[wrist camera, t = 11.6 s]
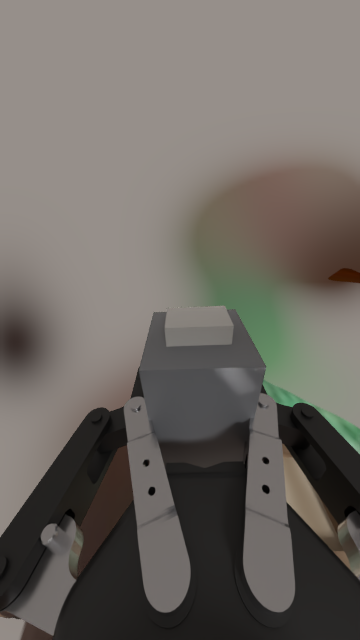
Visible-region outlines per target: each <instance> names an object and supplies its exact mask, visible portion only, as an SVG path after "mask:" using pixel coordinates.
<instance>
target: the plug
mask: <svg viewBox="0 0 360 640" xmlns="http://www.w3.org/2000/svg"><path fill="white" fill-rule="evenodd" d="M265 370H266V365H265V364H264V362H263V360H262V358H261V356H260V354H259V352H258V351H257V349H256V347H255V345H254V343H253V341H252V339H251V338H250V336H249V334H248V332H247V330H246V328H245V327H244V325H243V323H242V321H241V319H240V317H239V315H238V314H237V312H236V310H235V309H234V310H233V309H232V310H226V308H225V306H209V307H208V306H206V307H180V308H167V312H154V313H153V317H152V321H151V325H150V329H149V333H148V337H147V341H146V344H145V349H144V352H143V356H142V360H141V364H140V368H139V374H140V379H141V384H142V390H143V395H144V400H145V405H146V410H147V415H148V420H152V423H153V426H154V430H155V433H156V436H157V440H158V444H159V447H160V451H161V455H162V459H163V463H164V467H165V469H166V463H183V462H185V463H189V464H192V465H196V466H199V467H203V468H207V467H210V466H213V465H216V464H219V463H222V462H232V461H243V452H244V444H245V441H247V438H248V427H249V420H250V418H255V413H256V409H257V405H258V400H259V396H260V392H261V387H262V383H263V379H264V374H265Z"/></svg>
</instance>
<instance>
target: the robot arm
mask: <svg viewBox="0 0 360 640" xmlns="http://www.w3.org/2000/svg"><path fill="white" fill-rule="evenodd" d="M139 368H140V367H139ZM282 444H284V445H285V446H286V448H287V449H288V451H289V452H290V454H291V455H292V457H293V458H294V460H295V461H296V463H297V464H298V466H299V467H300V469H301V470H302V472H303V473H304V475H305V476H306V478H307V479H308V480H309V482H310V483H311V485H312V486H313V488H314V489H315V491H316V492H317V494H318V495H319V497H320V498H321V500H322V501H323V503H324V504H325V506H326V507H327V509H328V510H329V512H330V513H331V515H332V516H333V517H334V519H335V520H336V522H337V523H338V525H339V526H338V538H339V541H340V544H341V546H342V548H343V550H344V552H345V553H346V555H347V558H348V560H349V564H350V569H351V570H350V569H349V568H348V567H347V566H346V565H345V564H344V563H343V562H342V560H341V559H340V558H339V557H338V556H337V555H336V554H335V553H334V552H333V551H332V550H331V549H330V548H329V547H328V545H327V544H326V543H325V542H324V541H323V540H322V539H321V538H320V537H319V536H318V535H317V534H316V533H315V532H314V530H313V529H312V528H311V527H310V526H309V525H308V524H307V523H306V522H305V521H304V520H303V519H302V518H301V517H300V516H299V514H298V513H297V512H296V511H295V510H294V509H293V508H292V507H291V506H290V505H289V504H288V503H287V502H286V490H285V476H284V463H283V449H282ZM125 445H127V448H128V456H129V464H130V472H131V480H132V488H133V496H134V500H133V501H132V503H131V504H130V505H129V507H128V508H127V510H126V511H125V512H124V514H123V515H122V517H121V518H120V519H119V521H118V522H117V524H116V525H115V526H114V528H113V529H112V531H111V532H110V533H109V535H108V536H107V538H106V539H105V540H104V542H103V543H102V545H101V546H100V547H99V549H98V550H97V552H96V553H95V554H94V556H93V557H92V559H91V560H90V561H89V563H88V564H87V566H86V567H85V568H84V570H83V571H82V573H81V574H80V575H79V577H78V573H77V564H78V559H79V555H80V552H81V549H82V546H83V532H82V529H81V528H80V525H81V523H82V521H83V519H84V517H85V515H86V513H87V511H88V509H89V507H90V505H91V503H92V501H93V498H94V496H95V494H96V492H97V490H98V488H99V486H100V484H101V482H102V480H103V478H104V476H105V474H106V472H107V470H108V467H109V465H110V463H111V461H112V459H113V457H114V455H115V453H116V451H117V449H118V448H119V447H122V446H125ZM0 617H4V618H16V619H23V620H24V621H26V622H28V623H30V624H32V625H34V626H36V627H37V628H39V629H41V630H43V631H45V632H47V633H49V634H50V635H52V636H53V640H360V454H359V453H358V452H357V451H356V450H355V449H354V448H353V447H352V446H351V445H350V444H349V443H348V442H347V441H346V440H345V439H344V438H343V437H342V436H341V435H340V434H339V433H338V432H337V430H336V429H335V428H334V427H333V426H332V425H331V424H330V423H329V422H328V421H327V420H326V419H325V418H324V417H323V416H322V415H321V414H320V413H319V412H318V411H317V410H316V409H315V408H314V407H312V406H310V405H308V404H305V403H297V404H295V405H294V406H293V407H289V406H285V405H281V404H278V403H276V402H275V401H274V399H273V398H272V397H270V396H268V395H267V393H266V391H265V389H264V387H263V385H262V387H261V392H260V396H259V400H258V405H257V409H256V413H255V418H250V420H249V427H248V438H247V441H245V444H244V452H243V461H232V462H222V463H219V464H216V465H213V466H210V467H207V468H203V467H199V466H196V465H192V464H189V463H185V462H183V463H166V469H165V467H164V463H163V459H162V455H161V451H160V447H159V444H158V440H157V436H156V433H155V430H154V426H153V423H152V420H148V415H147V410H146V405H145V400H144V395H143V390H142V384H141V379H140V374H139V369H138V372H137V376H136V380H135V384H134V388H133V392H132V395H131V399H130V400H128V401H127V402H126V404H125V406H124V407H122V408H120V409H116V410H114V411H110V412H109V411H108V410H107V409H106V408H97V409H94V410H92V411H91V412H90V413H89V414H88V415H87V416H86V417H85V419H84V420H83V421H82V423H81V424H80V426H79V427H78V428H77V430H76V431H75V433H74V434H73V435H72V437H71V438H70V440H69V441H68V443H67V444H66V446H65V447H64V448H63V450H62V451H61V452H60V454H59V455H58V457H57V458H56V460H55V461H54V462H53V464H52V465H51V467H50V468H49V469H48V471H47V472H46V474H45V475H44V477H43V478H42V479H41V481H40V482H39V484H38V485H37V486H36V488H35V489H34V491H33V492H32V494H31V495H30V496H29V498H28V499H27V500H26V502H25V503H24V505H23V506H22V508H21V509H20V511H19V512H18V513H17V515H16V516H15V517H14V519H13V520H12V522H11V523H10V525H9V526H8V527H7V529H6V530H5V532H4V533H3V534H2V536H1V537H0Z"/></svg>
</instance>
